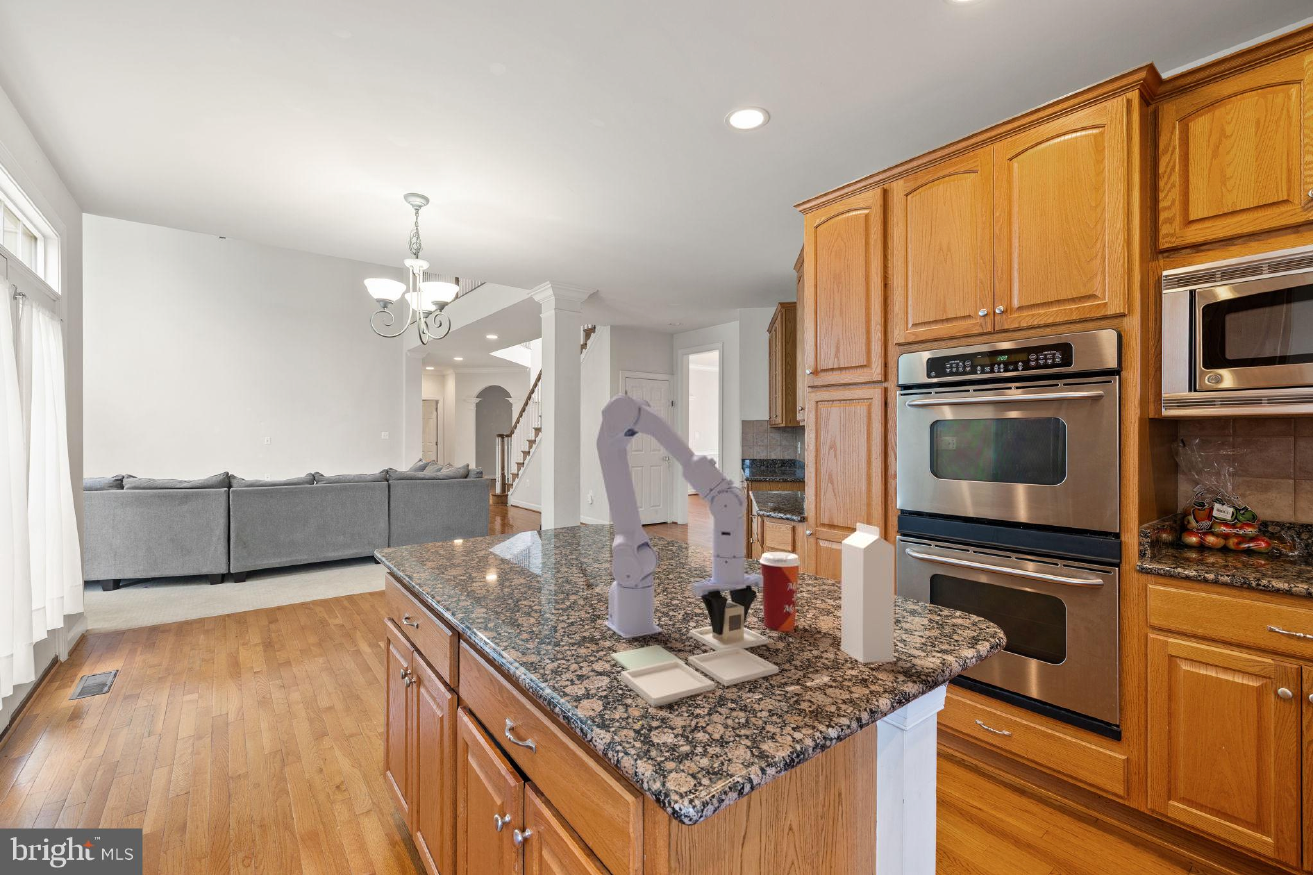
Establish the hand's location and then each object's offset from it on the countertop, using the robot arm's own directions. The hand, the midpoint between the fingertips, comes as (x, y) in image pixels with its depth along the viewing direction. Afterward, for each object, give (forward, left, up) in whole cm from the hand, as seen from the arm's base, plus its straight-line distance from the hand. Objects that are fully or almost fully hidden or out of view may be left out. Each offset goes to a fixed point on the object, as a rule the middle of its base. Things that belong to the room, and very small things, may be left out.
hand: (728, 631), depth 102 cm
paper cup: (-1, +13, -2) cm, 13 cm away
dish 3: (+11, -7, -2) cm, 13 cm away
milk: (+17, +16, -2) cm, 23 cm away
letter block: (0, 0, -1) cm, 1 cm away
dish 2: (0, 0, -2) cm, 2 cm away
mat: (+1, -17, -2) cm, 17 cm away
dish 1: (+11, -19, -2) cm, 22 cm away
